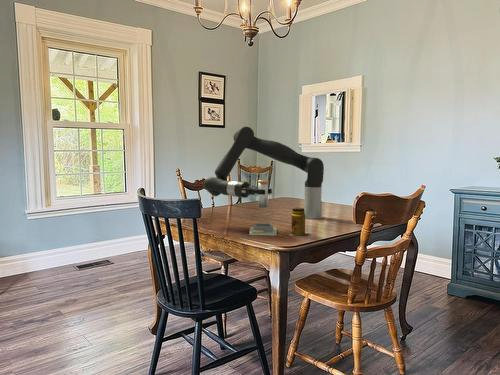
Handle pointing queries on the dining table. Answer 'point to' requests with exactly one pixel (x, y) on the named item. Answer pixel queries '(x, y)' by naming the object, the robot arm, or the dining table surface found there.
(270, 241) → the dining table surface
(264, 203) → the glass storage jar
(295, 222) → the condiment
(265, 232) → the dock
